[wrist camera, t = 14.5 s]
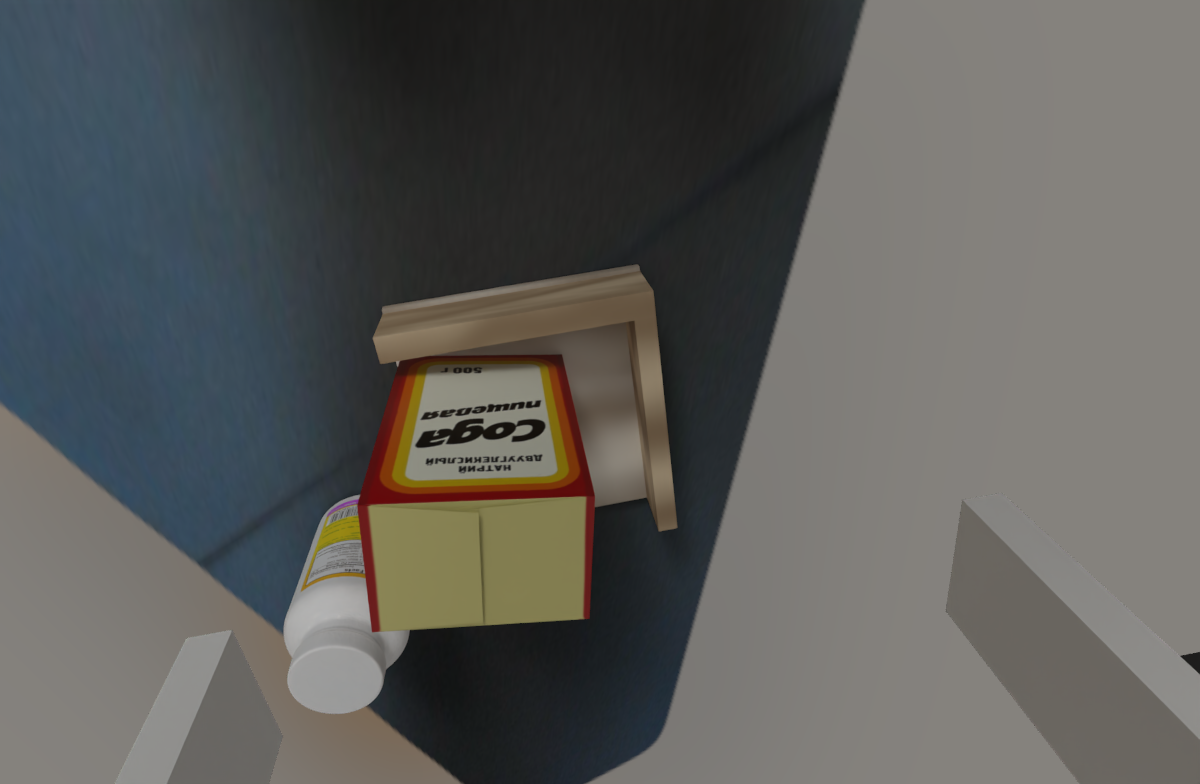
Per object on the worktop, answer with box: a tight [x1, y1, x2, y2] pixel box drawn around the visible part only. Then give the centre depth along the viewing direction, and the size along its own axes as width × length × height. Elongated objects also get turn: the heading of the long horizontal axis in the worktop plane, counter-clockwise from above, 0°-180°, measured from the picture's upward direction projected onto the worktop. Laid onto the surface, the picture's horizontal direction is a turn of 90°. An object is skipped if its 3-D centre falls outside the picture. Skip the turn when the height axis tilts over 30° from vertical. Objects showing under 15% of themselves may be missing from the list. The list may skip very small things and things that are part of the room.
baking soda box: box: [357, 354, 595, 632], centre depth 37 cm, size 10×6×16 cm
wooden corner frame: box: [373, 264, 677, 531], centre depth 44 cm, size 16×15×4 cm
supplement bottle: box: [284, 495, 410, 714], centre depth 42 cm, size 7×7×13 cm
